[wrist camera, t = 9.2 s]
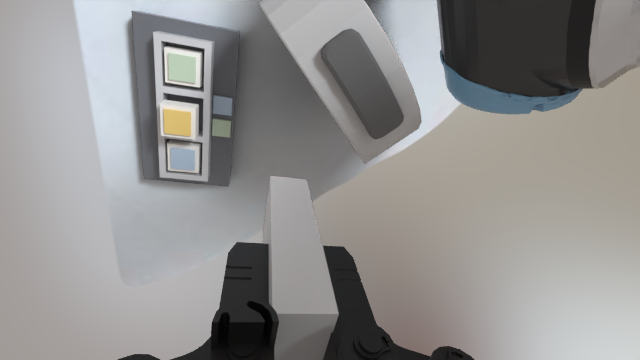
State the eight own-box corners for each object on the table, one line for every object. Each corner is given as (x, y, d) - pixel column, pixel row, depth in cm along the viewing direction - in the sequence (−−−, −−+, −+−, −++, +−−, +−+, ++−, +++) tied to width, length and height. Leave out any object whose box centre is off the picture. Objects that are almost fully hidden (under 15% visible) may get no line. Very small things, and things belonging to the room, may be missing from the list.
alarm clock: (259, 5, 39) (253, -1, 22) (307, -33, 38) (341, -73, 21) (345, 134, 49) (388, 199, 32) (385, 106, 48) (452, 158, 31)
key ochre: (164, 99, 38) (158, 104, 36) (198, 104, 39) (195, 109, 37) (165, 130, 40) (160, 136, 38) (198, 134, 41) (194, 140, 39)
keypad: (137, 11, 37) (124, 10, 34) (239, 31, 40) (237, 32, 37) (148, 172, 47) (138, 185, 44) (229, 180, 50) (226, 192, 46)
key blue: (171, 138, 43) (166, 144, 41) (201, 141, 44) (198, 147, 42) (172, 164, 45) (167, 171, 43) (201, 167, 46) (198, 174, 44)
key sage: (168, 45, 38) (163, 47, 36) (203, 51, 38) (199, 53, 36) (169, 79, 39) (164, 82, 37) (202, 84, 40) (199, 88, 38)
